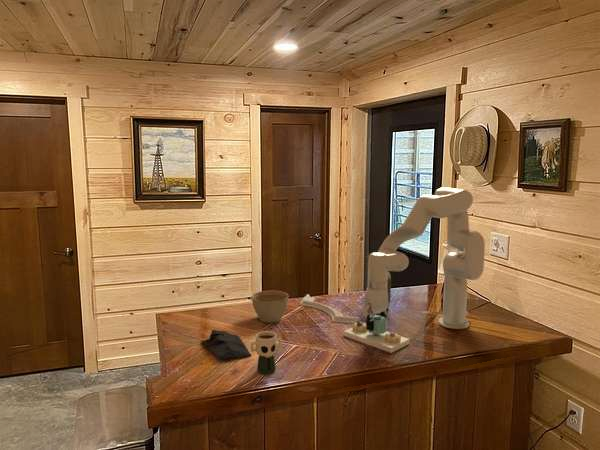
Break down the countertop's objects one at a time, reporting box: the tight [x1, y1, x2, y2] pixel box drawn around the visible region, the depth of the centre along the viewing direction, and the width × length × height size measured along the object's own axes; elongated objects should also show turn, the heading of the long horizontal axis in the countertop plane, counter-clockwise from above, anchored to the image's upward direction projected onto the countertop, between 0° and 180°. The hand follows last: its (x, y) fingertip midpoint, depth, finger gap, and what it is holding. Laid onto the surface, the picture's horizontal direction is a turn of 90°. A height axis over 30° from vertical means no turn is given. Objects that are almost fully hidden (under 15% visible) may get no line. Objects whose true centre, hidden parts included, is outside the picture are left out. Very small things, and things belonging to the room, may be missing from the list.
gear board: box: [343, 320, 410, 354], centre depth 187 cm, size 12×23×8 cm, turn 45°
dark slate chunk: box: [201, 329, 252, 360], centre depth 179 cm, size 15×22×5 cm
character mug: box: [250, 330, 282, 375], centre depth 160 cm, size 11×7×13 cm, turn 112°
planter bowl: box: [251, 290, 289, 324], centre depth 209 cm, size 16×16×11 cm
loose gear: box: [367, 314, 388, 334], centre depth 187 cm, size 8×8×5 cm
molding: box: [299, 294, 361, 325], centre depth 221 cm, size 42×12×3 cm, turn 33°
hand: (376, 326), depth 187 cm, fingers closed on loose gear, 7 cm apart
